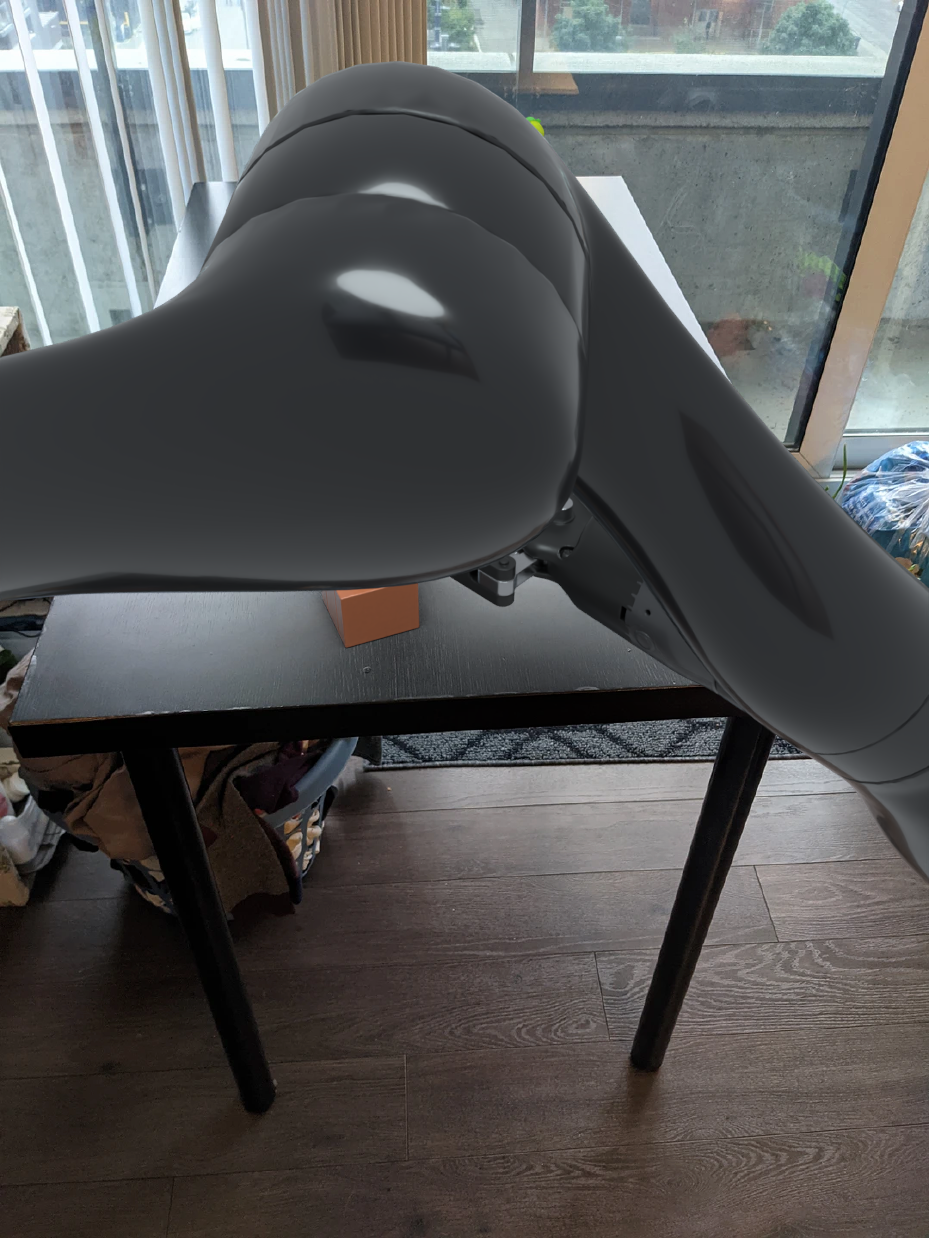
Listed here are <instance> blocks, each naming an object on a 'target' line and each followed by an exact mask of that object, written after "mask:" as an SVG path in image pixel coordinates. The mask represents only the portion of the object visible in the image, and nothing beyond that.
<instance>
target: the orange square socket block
mask: <svg viewBox="0 0 929 1238" xmlns="http://www.w3.org/2000/svg"><path fill="white" fill-rule="evenodd" d="M321 597H322V601H323V603H324V605H325V608H326V610H327V611H328V614H329V616H330V618H331V621H332V622H333V624H334V627H335V629H336V630H337V633H338V634H339V638H340V639H341V641H342V644H343V645H344V647H345V649H346V648H351V647H355V646H359V645H361V644H365V643H369V642H373V641H377V640H379V639H383V638H387V637H390V636H393V635H398V634H402V633H405V632H407V631H413V630H415V629H418V628H420V605H419V604H420V599H419V597H420V596H419V583H417V584H411V585H404V586H394V587H385V588H374V589H358V590H337V591H321Z"/></svg>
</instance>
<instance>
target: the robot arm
mask: <svg viewBox="0 0 929 1238" xmlns="http://www.w3.org/2000/svg"><path fill="white" fill-rule="evenodd" d="M526 118H527V117H525V115H523V114H522V113H521V112H520V111H519V110H518V109H517V108H516V107H514V105H512V104H511V103H509V102H508V101H506V100H504V99H503V98H501V97H500V96H499V95H497V94H496V93H494V92H492V91H491V90H490V89H488V88H486V87H485V86H483V85H482V84H481V83H479V82H477V81H475V80H473V79H470V78H468V77H465V76H462V75H460V74H457V73H455V72H453V71H449V70H447V69H444V68H442V67H440V66H436V65H435V66H434V65H428V64H421V63H415V62H409V61H403V60H394V61H393V60H392V61H382V62H381V61H380V62H368V63H357V64H355V65H352V66H349V67H346V68H343V69H339V70H336V71H334V72H330V73H327V74H325V75H323V76H321V77H319V78H318V79H316V80H315V81H314V82H312V83H310V84H309V85H307V86H306V87H304V88H303V89H301V90H299V91H298V92H297V93H295V94H294V95H293V96H292V97H291V98H290V99H289V100H288V101H287V103H286V104H285V105H284V106H283V107H282V108H281V109H280V110H279V111H278V112H277V113H276V114H275V116H273V117H272V118H271V120H269V123H268V124H267V126H266V127H265V129H264V130H263V132H262V134H261V135H260V137H259V139H258V141H257V142H256V143H255V145H254V147H253V149H252V151H251V153H250V155H249V158H248V160H247V162H246V163H245V166H244V168H243V170H242V173H241V174H240V176H239V179H238V181H237V183H236V186H235V187H234V189H233V192H232V194H231V197H230V200H229V202H228V205H227V207H226V209H225V213H224V215H223V217H222V220H221V221H220V225H219V227H218V229H217V231H216V234H215V235H214V238H213V240H212V243H211V244H210V246H209V249H208V252H207V254H206V256H205V259H204V260H203V263H202V266H201V268H200V270H199V272H198V274H197V276H196V278H195V279H194V280H193V281H192V282H191V283H189V284H188V285H187V286H185V288H183V289H182V290H181V291H180V292H179V293H177V294H176V295H174V296H173V297H171V298H169V299H168V300H166V301H165V302H163V303H161V304H160V305H158V306H156V307H155V308H153V309H151V310H149V311H147V312H144V313H142V314H139V315H137V316H135V317H134V316H133V317H131V318H129V319H127V320H124V321H122V322H120V323H119V322H118V323H117V324H115V325H112V326H109V327H106V328H103V329H99V330H97V331H94V332H91V333H88V334H84V335H82V336H78V337H75V338H72V339H69V340H68V339H67V340H66V341H61V342H57V343H53V344H49V345H45V346H40V347H36V348H32V349H29V350H23V351H20V352H16V353H12V354H7V355H3V356H0V602H6V601H16V600H27V599H38V598H51V597H62V596H64V597H65V596H77V595H105V594H107V595H108V594H109V595H110V594H111V595H112V594H113V595H114V594H199V593H203V594H204V593H205V594H206V593H207V594H208V593H211V594H212V593H215V594H216V593H290V592H291V593H294V592H295V593H296V592H322V591H337V590H358V589H374V588H385V587H394V586H404V585H411V584H417V583H418V584H422V583H428V582H429V583H430V582H435V581H438V580H442V579H446V578H451V579H452V580H454V581H456V582H457V583H459V584H460V585H462V586H463V587H466V588H467V589H468V590H470V591H472V592H473V593H475V594H476V595H478V596H480V597H481V598H483V599H484V600H486V601H488V602H489V603H491V604H492V605H494V606H495V607H498V608H499V607H500V608H506V607H510V606H512V604H514V602H515V593H516V592H515V591H516V589H517V588H518V587H519V586H521V585H522V584H523V583H526V581H527V580H529V579H531V578H532V577H535V578H536V579H537V578H538V579H543V580H547V581H551V582H553V583H555V584H557V585H558V586H559V587H560V588H561V589H562V590H563V592H564V593H565V594H566V596H567V597H568V599H569V600H570V601H571V602H572V604H573V605H574V607H576V608H577V610H580V611H581V612H582V613H584V614H585V615H587V616H588V617H590V618H592V619H593V620H595V621H596V622H598V623H599V624H601V625H602V626H604V627H605V628H606V629H608V630H609V631H612V633H614V634H615V635H617V636H619V637H621V638H622V639H623V640H625V641H627V642H628V643H630V644H631V645H633V646H634V647H635V648H637V649H639V650H640V651H642V652H643V653H645V654H646V655H648V656H650V657H651V658H652V659H654V660H655V661H657V662H659V663H660V664H662V665H663V666H665V667H666V668H668V669H669V670H671V671H672V672H673V673H675V674H677V675H680V677H683V678H685V679H687V680H689V681H691V682H693V683H695V684H697V685H699V686H702V687H704V688H706V689H708V690H710V691H712V692H713V693H715V694H717V695H718V696H720V697H721V698H723V699H724V700H726V701H727V702H729V703H730V704H732V705H733V706H735V707H736V708H738V709H739V710H741V711H743V712H744V713H745V714H747V715H748V716H750V717H752V718H753V719H754V720H755V721H757V722H758V723H759V724H760V725H762V727H764V728H765V729H767V730H768V731H769V732H770V733H772V734H773V735H775V736H777V737H778V738H780V739H781V740H783V741H784V742H786V743H787V744H789V745H790V746H791V747H794V748H795V749H796V750H798V751H800V752H801V753H803V754H804V755H805V756H808V757H809V758H811V759H813V760H814V761H816V762H817V763H818V764H820V765H822V766H823V767H825V768H826V769H828V770H829V771H831V772H832V773H833V774H835V775H837V776H838V777H840V778H841V779H842V780H844V781H845V782H846V783H847V784H849V785H850V786H851V787H852V789H853V790H854V791H855V793H856V794H857V796H858V797H859V798H860V800H861V801H862V803H863V805H864V806H865V808H866V810H867V811H868V813H869V815H870V817H871V818H872V821H874V823H875V825H876V827H877V828H878V830H879V832H880V833H881V834H882V835H883V837H884V839H885V840H886V841H887V843H888V844H889V845H890V847H891V848H892V849H893V850H894V852H895V853H896V854H897V856H898V857H899V858H900V859H901V861H902V862H903V863H904V864H905V865H906V866H907V867H908V868H909V869H910V870H911V871H912V872H913V873H914V874H915V875H916V876H917V877H918V878H919V879H920V880H922V882H924V883H925V884H927V885H928V886H929V587H928V586H927V585H926V584H925V583H923V581H922V580H920V579H919V578H918V577H917V576H916V575H915V574H913V573H912V572H911V571H910V570H909V569H907V567H905V566H904V565H903V564H902V563H901V562H899V561H898V559H897V558H895V557H894V556H893V555H892V554H891V553H889V551H887V550H886V549H885V548H884V547H883V546H882V545H881V544H880V543H879V542H878V541H877V540H876V539H875V538H874V537H873V536H872V535H870V534H869V532H867V531H866V530H865V529H864V528H863V526H861V525H860V524H859V523H858V522H857V520H855V519H854V517H852V516H851V514H849V513H848V512H847V510H845V509H844V508H843V507H842V506H841V504H839V503H838V502H837V501H836V500H835V498H834V497H833V496H832V495H831V494H829V493H828V491H827V490H826V489H825V488H824V487H823V486H822V485H821V484H820V483H819V482H818V481H817V479H815V478H814V476H813V475H812V474H811V473H810V472H809V471H808V470H807V469H806V468H805V467H804V466H803V465H802V463H801V462H800V461H799V460H798V459H797V458H796V456H795V455H794V454H792V453H791V451H790V450H789V449H788V448H787V447H786V446H785V445H784V444H783V442H782V441H781V440H780V439H779V438H778V437H777V435H775V433H774V432H773V431H772V430H771V429H770V427H768V425H767V424H766V423H765V422H764V421H763V420H762V418H761V417H760V416H759V414H757V413H756V411H755V410H754V409H753V408H752V406H750V404H749V403H748V402H747V400H746V399H745V398H744V397H743V396H742V395H741V393H740V392H739V391H738V389H736V387H735V386H734V384H733V383H732V382H731V381H730V380H729V379H728V378H727V376H726V375H725V374H724V372H723V371H721V369H720V367H718V366H717V364H716V362H714V361H713V359H712V358H711V357H710V355H709V354H708V353H707V351H705V350H704V348H703V347H702V346H701V345H700V344H699V342H698V341H697V339H695V337H694V336H693V334H691V333H690V331H689V330H688V328H686V326H685V325H684V323H683V322H682V321H681V320H680V319H679V317H678V316H677V315H676V313H675V312H674V311H673V310H672V308H671V307H670V306H669V304H668V303H667V302H666V300H665V299H664V297H663V296H662V294H661V293H660V291H659V290H658V289H657V288H656V286H655V285H654V283H653V282H652V281H651V279H650V278H649V276H648V275H647V274H646V272H645V271H644V270H643V268H642V267H641V266H640V263H639V262H638V261H637V260H636V258H635V257H634V256H633V254H632V252H631V251H630V249H628V247H627V246H626V244H625V243H624V242H623V239H622V238H621V237H620V236H619V234H618V233H617V231H616V230H615V229H614V227H613V225H612V224H611V223H610V221H609V220H608V218H606V216H605V215H604V213H603V212H602V211H601V209H600V208H599V207H598V205H597V204H596V203H595V201H594V200H593V198H592V197H591V196H590V194H589V193H588V192H587V191H586V188H585V187H583V185H582V183H581V182H580V181H579V179H578V178H577V177H576V175H575V174H574V173H573V172H572V170H571V169H570V167H569V166H568V165H567V164H566V163H565V161H564V160H563V159H562V157H561V156H560V155H559V154H558V152H557V151H556V149H554V147H553V146H552V145H551V144H550V143H549V141H548V140H547V139H546V138H545V136H544V137H543V136H542V134H541V133H540V132H539V131H538V130H537V129H536V128H535V127H534V126H533V125H532V124H531V123H530V122H529V121H528V120H527V119H526Z"/></svg>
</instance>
